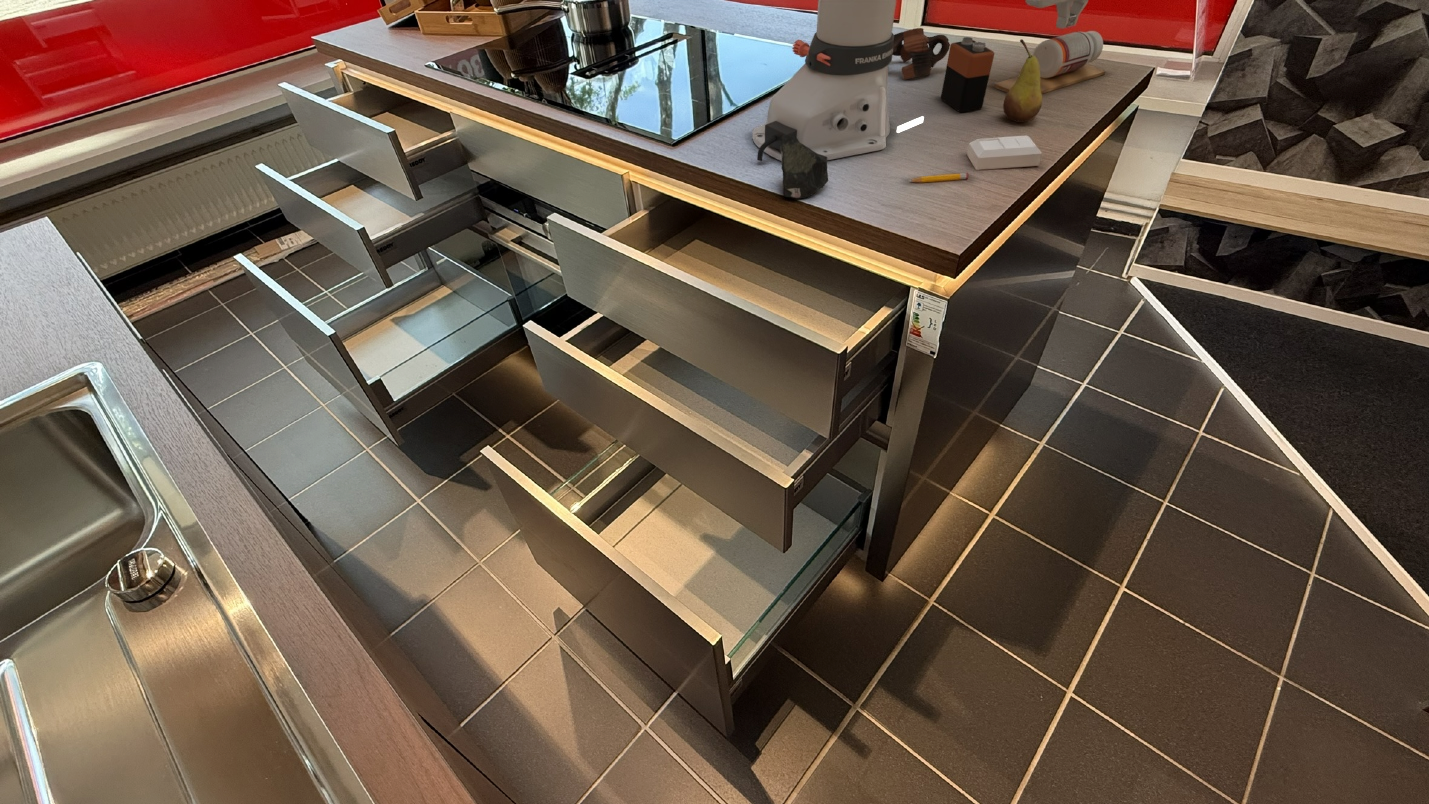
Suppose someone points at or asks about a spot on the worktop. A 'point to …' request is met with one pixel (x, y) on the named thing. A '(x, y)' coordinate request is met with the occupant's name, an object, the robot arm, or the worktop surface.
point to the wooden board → (1057, 79)
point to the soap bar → (1003, 152)
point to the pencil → (941, 178)
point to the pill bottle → (1067, 52)
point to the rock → (801, 168)
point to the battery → (967, 75)
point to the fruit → (1025, 92)
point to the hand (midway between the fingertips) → (1065, 26)
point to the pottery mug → (918, 51)
